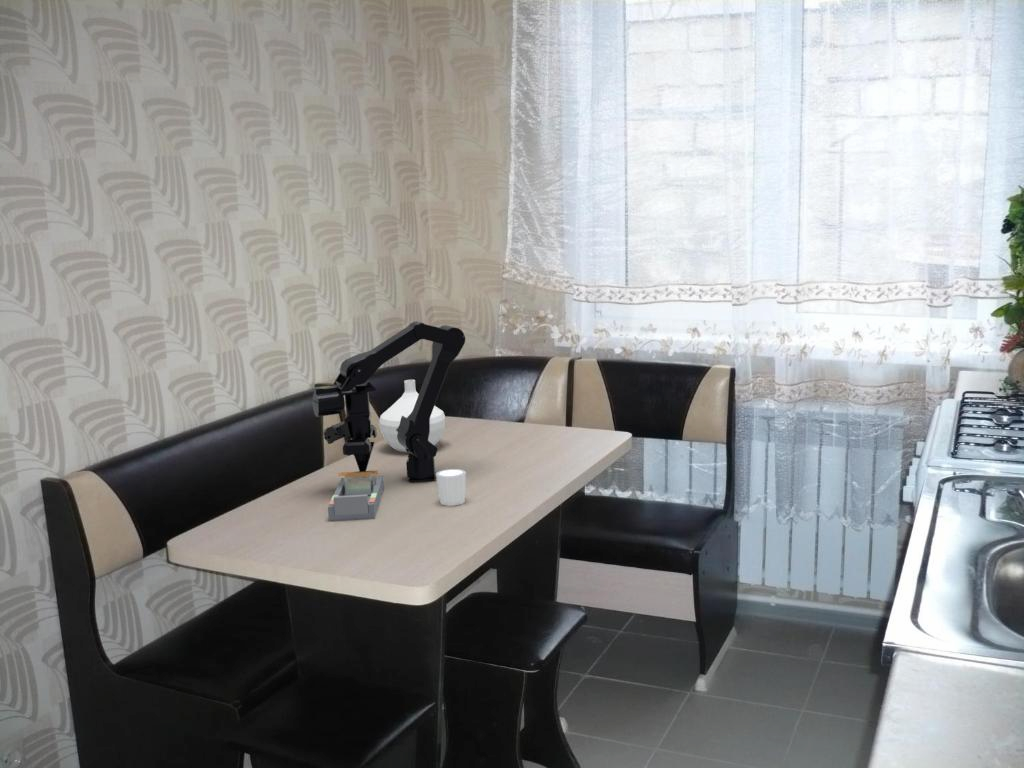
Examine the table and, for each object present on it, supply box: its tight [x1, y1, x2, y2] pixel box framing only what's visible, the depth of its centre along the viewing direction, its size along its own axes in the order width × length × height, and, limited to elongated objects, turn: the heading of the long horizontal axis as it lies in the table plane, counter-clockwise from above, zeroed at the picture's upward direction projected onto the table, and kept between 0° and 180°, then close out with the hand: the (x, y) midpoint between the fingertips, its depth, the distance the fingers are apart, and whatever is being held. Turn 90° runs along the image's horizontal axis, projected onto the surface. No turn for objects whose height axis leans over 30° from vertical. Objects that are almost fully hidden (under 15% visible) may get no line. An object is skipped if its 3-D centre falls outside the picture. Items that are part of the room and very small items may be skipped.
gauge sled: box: [337, 470, 379, 496], centre depth 248 cm, size 9×5×5 cm, turn 92°
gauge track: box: [327, 475, 385, 522], centre depth 244 cm, size 10×23×5 cm, turn 2°
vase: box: [378, 379, 446, 454], centre depth 292 cm, size 18×18×19 cm
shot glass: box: [436, 468, 467, 507], centre depth 242 cm, size 7×7×7 cm
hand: (362, 473), depth 256 cm, fingers closed
